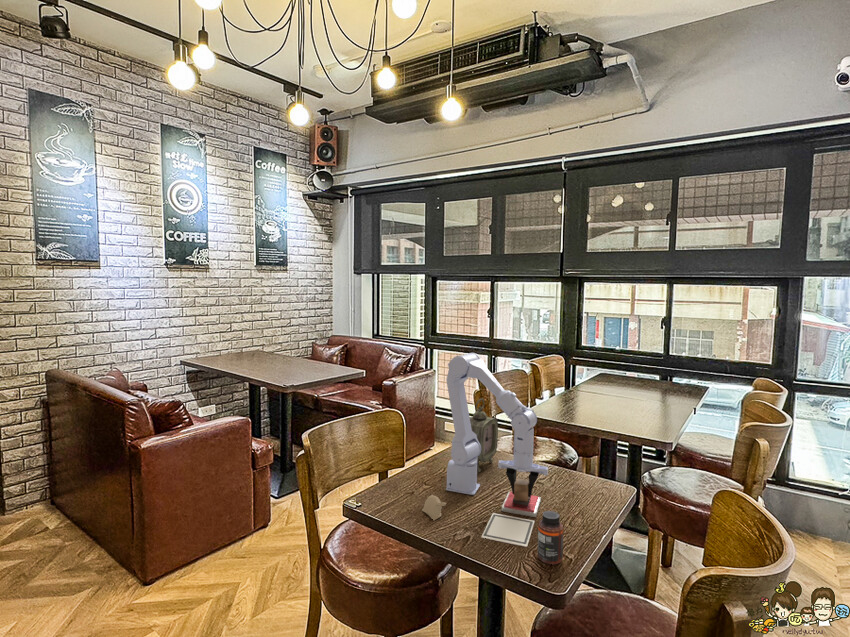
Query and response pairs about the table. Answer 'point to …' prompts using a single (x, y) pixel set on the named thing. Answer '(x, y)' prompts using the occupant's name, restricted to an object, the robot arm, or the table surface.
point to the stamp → (521, 492)
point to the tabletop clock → (485, 434)
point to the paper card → (508, 529)
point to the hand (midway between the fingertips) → (522, 494)
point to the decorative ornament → (433, 507)
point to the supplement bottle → (550, 538)
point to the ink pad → (521, 506)
